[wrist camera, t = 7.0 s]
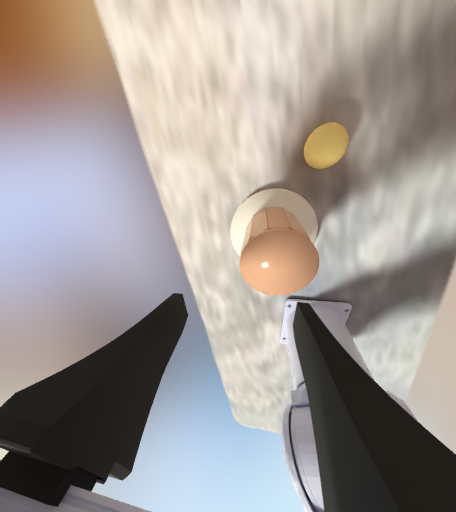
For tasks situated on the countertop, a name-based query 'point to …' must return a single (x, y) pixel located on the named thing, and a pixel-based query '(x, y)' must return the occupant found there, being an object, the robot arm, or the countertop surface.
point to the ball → (326, 145)
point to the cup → (277, 253)
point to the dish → (273, 199)
